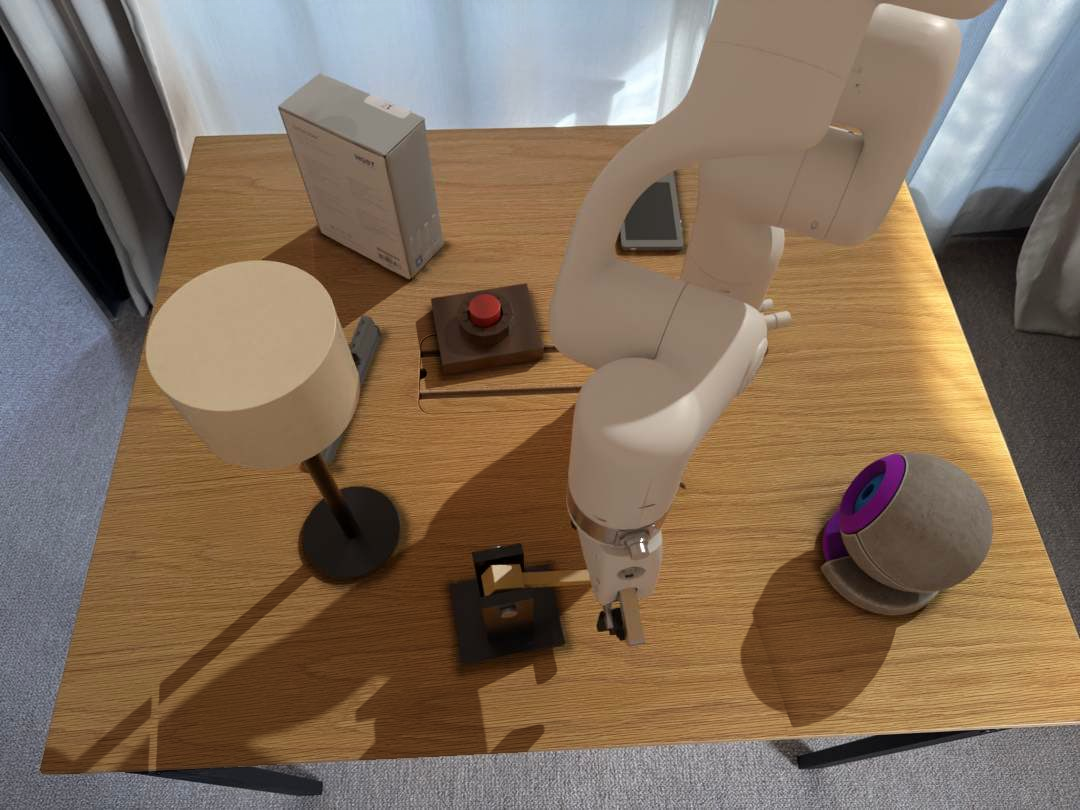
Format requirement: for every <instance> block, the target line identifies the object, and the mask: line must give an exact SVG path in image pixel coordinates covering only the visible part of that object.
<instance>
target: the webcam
mask: <svg viewBox="0 0 1080 810" xmlns="http://www.w3.org/2000/svg"><path fill="white" fill-rule="evenodd" d="M993 536H994V520H993V515H992V510H991V507H990V505H989V502H988V499H987V497H986V495H985V493H984V492H983V491H982V488H981V487H980V485H978V484H977V482H976V481H975V480H974V479H973V478H972V477H971V475H969V473H967V472H966V471H964V470H963V469H962V468H961V467H959V466H957V465H956V464H955V463H953V462H951V461H948V460H946V459H944V458H942V457H939V456H936V455H932V454H929V453H924V452H904V453H894V454H887V455H886V456H883V457H880V458H877V459H876V460H875V461H873V462H871V463H869V464H868V465H866V466H865V467H864V468H863V469H862V470H861V471H860V472H859V473H858V474H857V475H856V476H855V478H854V479H853V480H852V481H851V482H850V484H849V486H848V487H847V488H846V490H845V492H844V494H843V496H842V499H841V502H840V505H839V508H838V509H837V510H836V511H835V513H834V514H833V515H832V516H831V517H830V518H829V520H828V521H827V523H826V525H825V527H824V530H823V534H822V551H823V556H824V559H825V563H823V564H822V565H821V566H820V569H821V572H822V573H823V575H824V577H825V578H826V579H827V581H828V583H830V585H831V586H832V587H833V588H834V589H835V590H836V592H838V593H839V595H841V596H842V597H843V598H845V599H846V600H847V601H849V602H850V603H851V604H853V605H855V606H857V607H859V608H861V609H863V610H866V611H869V612H871V613H875V614H879V615H884V616H900V615H901V616H902V615H907V614H911V613H914V612H917V611H919V610H921V609H922V608H924V607H925V606H927V605H928V604H929V603H931V602H932V601H933V600H934V599H935V598H936V597H937V596H938V594H939V593H940V592H941V591H944V590H948V589H950V588H953V587H955V586H957V585H959V584H961V583H963V582H964V581H966V580H968V579H969V578H970V577H971V576H973V574H975V572H977V571H978V570H979V568H980V567H981V566H982V564H983V563H984V561H985V560H986V558H987V556H988V554H989V553H990V552H989V551H990V548H991V546H992V541H993Z"/></svg>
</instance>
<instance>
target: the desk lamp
mask: <svg viewBox="0 0 1080 810" xmlns="http://www.w3.org/2000/svg"><path fill="white" fill-rule="evenodd" d="M145 341H146V342H145V360H146V366H147V368H148V371H149V374H150V376H151V378H152V379H153V381H154V382H155V384H156V385H157V387H158V388H159V389H160V390H161V392H162V393H163V394H164V396H165V397H166V398H167V400H168V401H169V402H170V403H171V405H172V406H173V407H174V408H175V410H176V411H177V412H178V413H179V414H180V416H181V417H182V418H183V420H184V421H185V422H186V423H187V425H188V426H189V427H190V429H191V430H192V431H193V432H194V433H195V435H196V436H197V437H198V439H199V440H200V441H201V443H202V444H203V445H204V446H205V447H206V448H207V449H208V450H209V451H210V452H211V453H212V454H213V455H215V457H217V458H219V459H220V460H222V461H224V462H226V463H228V464H230V465H232V466H233V465H234V466H235V467H239V468H244V469H250V470H276V469H282V468H287V467H291V466H293V465H297V464H299V463H302V464H303V465H304V467H305V469H306V470H307V472H308V474H309V476H310V478H311V479H312V481H313V482H314V484H315V486H316V488H317V490H318V491H319V493H320V495H321V496H322V499H321V500H319V501H318V503H317V504H315V506H314V507H313V508H312V509H311V511H310V512H309V514H308V516H307V518H306V520H305V522H304V526H303V530H302V545H303V550H304V552H305V555H306V557H307V559H308V561H309V562H310V563H311V564H312V566H313V567H314V568H315V569H316V570H318V571H319V572H320V573H322V574H323V575H325V576H327V577H328V578H332V579H336V580H341V581H352V580H358V579H362V578H365V577H368V576H371V575H372V574H375V573H376V572H377V571H379V570H380V569H382V568H383V567H384V566H385V565H386V564H388V562H389V561H390V560H391V559H392V557H393V556H394V554H395V553H396V551H397V549H398V547H399V545H400V542H401V538H402V530H403V529H402V520H401V516H400V513H399V511H398V509H397V507H396V505H395V504H394V502H393V501H392V500H391V499H390V498H389V497H388V496H387V495H386V494H384V493H383V492H382V491H379V490H377V489H374V488H372V487H367V486H348V487H343V488H339V486H338V484H337V482H336V479H334V476H333V474H332V473H331V471H330V469H329V466H328V467H327V465H326V463H325V461H324V459H323V457H322V455H321V453H320V452H321V451H323V450H324V449H325V448H327V447H328V446H329V445H330V444H332V443H333V442H334V441H335V440H336V439H337V438H338V437H339V436H340V435H341V434H342V432H343V431H344V432H345V430H346V429H347V427H348V426H349V424H350V423H351V421H352V419H353V417H354V415H355V413H356V410H357V409H358V408H357V407H358V404H359V400H360V394H361V388H360V380H359V375H358V371H357V369H356V366H355V363H354V360H353V357H352V355H351V352H350V349H349V344H348V341H347V339H346V336H345V332H344V330H343V327H342V324H341V322H340V319H339V316H338V313H337V310H336V308H335V305H334V302H333V299H332V297H331V295H330V294H329V292H328V291H327V289H326V288H325V287H324V285H323V284H322V283H321V282H320V281H319V280H318V279H316V277H314V276H313V275H311V274H310V273H308V272H306V271H305V270H303V269H300V268H299V267H297V266H295V265H291V264H288V263H284V262H279V261H276V260H275V261H273V260H244V261H237V262H232V263H228V264H225V265H221V266H217V267H214V268H213V269H209V270H208V271H205V272H204V273H202V274H200V275H197V276H196V277H194V278H192V279H191V280H189V281H187V282H185V284H184V285H182V286H180V287H179V288H178V289H177V290H176V291H174V293H173V294H171V295H170V296H169V297H168V298H167V299H166V301H165V302H164V303H163V304H162V305H161V306H160V308H159V309H158V311H157V313H156V314H155V316H154V317H153V320H152V322H151V323H150V326H149V329H148V332H147V336H146V339H145ZM344 432H343V433H344Z"/></svg>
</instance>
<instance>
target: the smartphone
mask: <svg viewBox="0 0 1080 810" xmlns="http://www.w3.org/2000/svg"><path fill="white" fill-rule="evenodd" d="M679 207H680V206H679V200H678V192H677V187H676V179H675V171H673V172H671V173H669V174H667V175H665V176H663V177H662V178H660V179H659V180H657V181H656V182H655V183H653V184H652V185H651V186H649V187H648V188H647V189H646V190H645V191H644V192H643V193H642V194H641V195H640V197H639V198H638V199H637V200H636V201H635V203H634V204H633V206H632V207H631V209H630V210H629V212H628V214H627V216H626V218H625V220H624V222H623V224H622V227H621V229H620V232H619V237H620V249H621V250H622V251H682V250H683V248H684V245H685V244H684V235H683V227H682V220H681V214H680V208H679Z"/></svg>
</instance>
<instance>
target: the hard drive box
mask: <svg viewBox="0 0 1080 810" xmlns="http://www.w3.org/2000/svg"><path fill="white" fill-rule="evenodd" d="M277 108H278V109H277V110H278V112H279V115H280V117H281V121H282V124H283V127H284V129H285V132H286V135H287V138H288V141H289V144H290V147H291V151H292V154H293V155H294V158H295V161H296V164H297V167H298V170H299V173H300V176H301V179H302V182H303V186H304V187H305V191H306V194H307V196H308V199H309V202H310V206H311V208H312V211H313V214H314V218H315V219H316V223H317V226H318V228H319V231H320V233H321V234H323V235H325V236H327V237H328V238H330V239H331V240H333V241H335V242H337V243H339V244H341V245H342V246H344V247H347V248H349V249H351V250H352V251H355V252H357V253H358V254H360V255H362V256H363V257H366V258H368V259H369V260H372V261H373V262H375V263H377V264H379V265H381V266H382V267H384V268H386V269H387V270H389V271H391V272H394V273H395V274H397V275H399V276H402V277H403V278H405V279H407V280H411V279H413V278H414V277H415V276H416V275H417V274H418V273H419V272H420V271H421V270H422V269H423V268H424V267H425V266H426V264H427V263H428V262H429V261H430V260H431V259H432V258H433V257H434V256H435V255H436V254H437V253H438V252H439V251H440V249H441V248H442V247H443V246H444V245H445V242H444V235H443V229H442V223H441V217H440V216H441V215H440V210H439V204H438V203H439V202H438V198H437V197H438V196H437V191H436V184H435V178H434V172H433V166H432V165H433V164H432V159H431V152H430V146H429V140H428V133H427V126H426V117H424V116H423V115H419V114H417V113H415V112H413V111H411V110H408V109H406V108H403V107H402V106H399V105H397V104H394V103H392V102H390V101H388V100H386V99H383V98H380V97H378V96H376V95H374V94H371V93H369V92H366V91H364V90H362V89H359V88H357V87H355V86H352V85H350V84H348V83H345V82H343V81H340V80H338V79H336V78H334V77H331V76H329V75H328V74H325V73H322V72H319V73H318V74H316V75H315V76H314V77H313V78H311V79H310V80H309V81H308V82H306V83H305V84H304V85H302V87H300V88H299V89H298V90H297V91H295V92H294V93H292V94H291V95H290V96H289V97H288V98H286V99H285V100H284V101H283V102H281V103H280V104H279V105H278V106H277Z"/></svg>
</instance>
